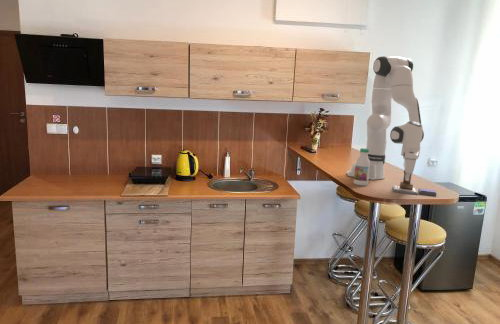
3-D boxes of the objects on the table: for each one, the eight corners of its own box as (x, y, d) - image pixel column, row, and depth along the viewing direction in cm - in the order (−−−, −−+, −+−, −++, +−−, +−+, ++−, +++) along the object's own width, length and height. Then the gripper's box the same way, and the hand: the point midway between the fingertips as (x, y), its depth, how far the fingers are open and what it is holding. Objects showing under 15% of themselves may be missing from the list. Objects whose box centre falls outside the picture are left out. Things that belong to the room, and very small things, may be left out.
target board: (393, 191, 208) (393, 189, 207) (392, 187, 217) (392, 184, 217) (417, 194, 204) (418, 192, 204) (415, 190, 214) (416, 187, 213)
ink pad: (419, 194, 206) (419, 190, 205) (418, 191, 211) (418, 187, 211) (436, 196, 203) (436, 192, 203) (434, 193, 209) (435, 189, 209)
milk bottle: (357, 181, 225) (361, 147, 221) (370, 184, 220) (374, 149, 217) (351, 183, 220) (355, 148, 216) (364, 186, 215) (368, 150, 211)
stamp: (400, 188, 209) (402, 167, 207) (399, 186, 213) (402, 166, 211) (412, 190, 207) (415, 169, 205) (411, 188, 212) (414, 167, 209)
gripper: (402, 149, 217) (399, 173, 220) (404, 155, 198) (400, 181, 201) (415, 150, 215) (411, 175, 218) (418, 156, 196) (414, 183, 199)
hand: (406, 178), depth 210 cm, fingers open, 8 cm apart
